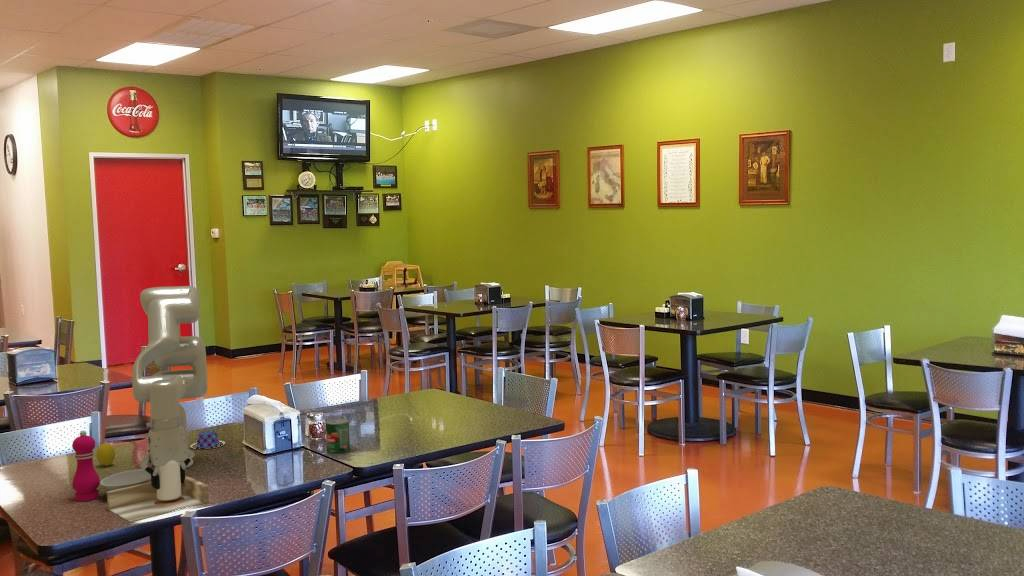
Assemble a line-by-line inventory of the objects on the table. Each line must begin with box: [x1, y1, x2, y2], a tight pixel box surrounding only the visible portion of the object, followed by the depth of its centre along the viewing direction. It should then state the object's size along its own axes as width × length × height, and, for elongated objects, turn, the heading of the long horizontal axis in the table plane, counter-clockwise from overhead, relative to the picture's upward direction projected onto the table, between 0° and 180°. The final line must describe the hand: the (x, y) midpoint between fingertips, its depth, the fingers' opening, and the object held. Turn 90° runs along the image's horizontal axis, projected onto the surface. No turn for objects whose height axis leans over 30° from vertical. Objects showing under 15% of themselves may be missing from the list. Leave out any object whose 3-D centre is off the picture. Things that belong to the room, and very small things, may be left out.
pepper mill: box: [71, 430, 101, 502], centre depth 251 cm, size 7×7×20 cm
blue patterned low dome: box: [189, 430, 226, 450], centre depth 309 cm, size 12×12×5 cm
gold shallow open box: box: [106, 474, 210, 523], centre depth 243 cm, size 16×22×5 cm
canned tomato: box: [324, 418, 351, 456], centre depth 296 cm, size 8×8×11 cm
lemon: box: [96, 442, 116, 467], centre depth 285 cm, size 6×6×8 cm
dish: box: [99, 468, 151, 491], centre depth 255 cm, size 18×14×5 cm
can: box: [157, 458, 181, 501], centre depth 246 cm, size 6×6×12 cm
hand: (168, 484), depth 246 cm, fingers closed on can, 6 cm apart
